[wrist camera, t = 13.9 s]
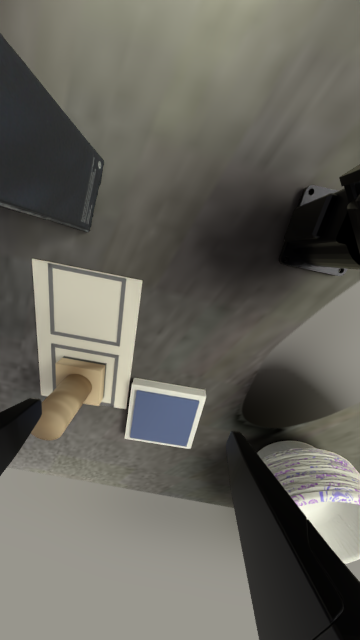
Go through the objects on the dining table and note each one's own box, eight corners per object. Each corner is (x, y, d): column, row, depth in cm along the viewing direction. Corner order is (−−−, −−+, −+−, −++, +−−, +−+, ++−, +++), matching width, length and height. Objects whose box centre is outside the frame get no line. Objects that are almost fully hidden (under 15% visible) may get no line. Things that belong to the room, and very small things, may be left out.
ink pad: (205, 389, 23) (206, 398, 22) (190, 440, 26) (190, 451, 25) (134, 377, 23) (131, 385, 21) (127, 430, 26) (123, 440, 24)
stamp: (106, 363, 22) (73, 409, 15) (104, 396, 24) (73, 451, 17) (64, 355, 22) (12, 399, 15) (64, 389, 23) (17, 442, 17)
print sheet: (142, 280, 19) (142, 280, 19) (126, 407, 24) (125, 409, 24) (33, 258, 18) (31, 258, 18) (42, 394, 24) (40, 395, 24)
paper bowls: (236, 499, 30) (254, 578, 23) (226, 431, 26) (244, 504, 18) (332, 489, 29) (384, 570, 22) (341, 416, 24) (411, 488, 17)
